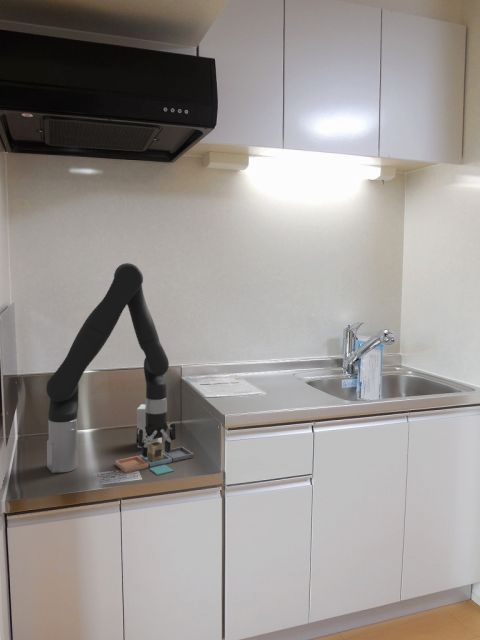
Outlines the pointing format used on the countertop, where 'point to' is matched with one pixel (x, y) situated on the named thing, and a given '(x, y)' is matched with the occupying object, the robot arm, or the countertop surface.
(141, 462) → the dish terracotta
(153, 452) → the letter block
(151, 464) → the dish slate
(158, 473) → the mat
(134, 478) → the countertop surface
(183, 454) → the dish charcoal
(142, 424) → the skincare box
